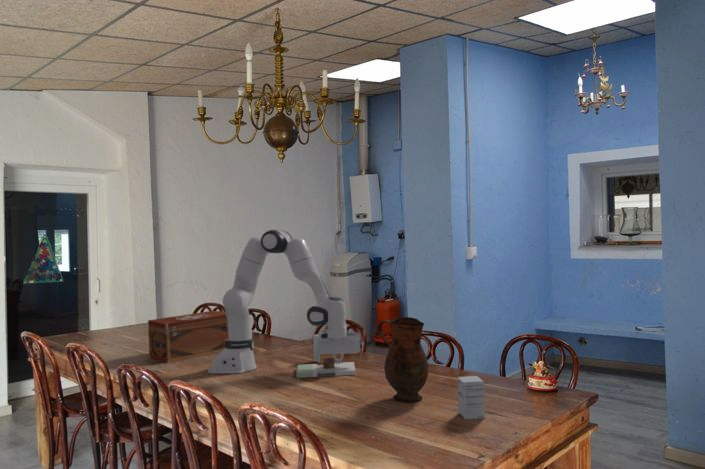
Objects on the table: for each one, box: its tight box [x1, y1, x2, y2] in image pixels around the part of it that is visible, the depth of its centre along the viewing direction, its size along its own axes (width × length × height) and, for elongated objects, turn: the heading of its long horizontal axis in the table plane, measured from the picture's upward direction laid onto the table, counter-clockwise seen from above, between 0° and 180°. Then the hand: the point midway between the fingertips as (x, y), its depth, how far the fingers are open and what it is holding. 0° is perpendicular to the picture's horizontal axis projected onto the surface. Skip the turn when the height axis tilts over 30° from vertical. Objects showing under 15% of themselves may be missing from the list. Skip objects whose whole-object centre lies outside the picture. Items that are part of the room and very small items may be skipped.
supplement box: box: [457, 375, 486, 420], centre depth 205 cm, size 7×7×13 cm
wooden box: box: [147, 310, 228, 364], centre depth 325 cm, size 20×41×20 cm, turn 135°
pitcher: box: [377, 316, 429, 403], centre depth 229 cm, size 17×21×30 cm
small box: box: [312, 333, 333, 364], centre depth 295 cm, size 8×6×13 cm
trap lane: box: [296, 361, 357, 379], centre depth 273 cm, size 26×16×2 cm, turn 93°
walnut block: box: [322, 357, 335, 369], centre depth 273 cm, size 5×5×4 cm
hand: (338, 363), depth 274 cm, fingers closed
